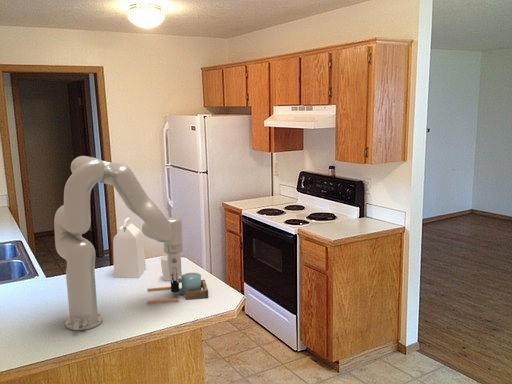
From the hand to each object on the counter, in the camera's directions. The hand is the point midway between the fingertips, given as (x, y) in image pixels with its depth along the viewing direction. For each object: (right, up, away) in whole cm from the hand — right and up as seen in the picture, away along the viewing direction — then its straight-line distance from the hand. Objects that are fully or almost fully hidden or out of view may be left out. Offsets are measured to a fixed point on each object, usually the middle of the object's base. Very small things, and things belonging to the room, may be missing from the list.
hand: (175, 290), depth 192 cm
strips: (-5, -2, -1) cm, 6 cm away
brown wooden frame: (+8, -2, +2) cm, 9 cm away
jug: (+5, -2, +1) cm, 5 cm away
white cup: (-5, +1, +18) cm, 19 cm away
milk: (-25, +2, +25) cm, 36 cm away
